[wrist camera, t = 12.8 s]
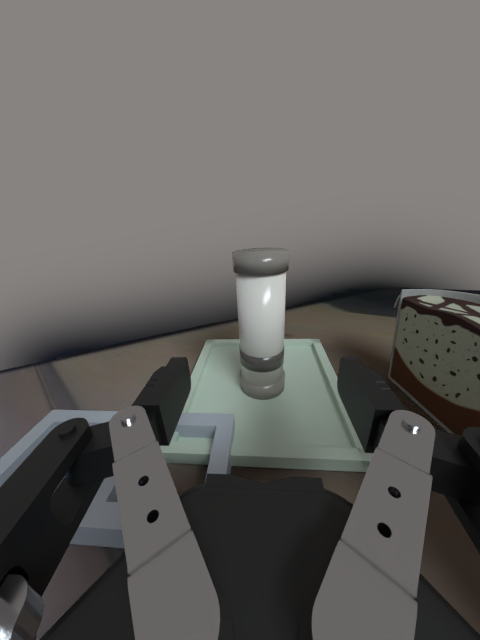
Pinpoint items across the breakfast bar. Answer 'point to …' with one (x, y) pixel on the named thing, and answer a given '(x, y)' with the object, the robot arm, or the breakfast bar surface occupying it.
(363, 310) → the breakfast bar surface
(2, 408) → the breakfast bar surface
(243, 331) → the grey-capped white cylinder
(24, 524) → the robot arm
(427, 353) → the food container
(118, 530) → the fuse block
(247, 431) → the tray
